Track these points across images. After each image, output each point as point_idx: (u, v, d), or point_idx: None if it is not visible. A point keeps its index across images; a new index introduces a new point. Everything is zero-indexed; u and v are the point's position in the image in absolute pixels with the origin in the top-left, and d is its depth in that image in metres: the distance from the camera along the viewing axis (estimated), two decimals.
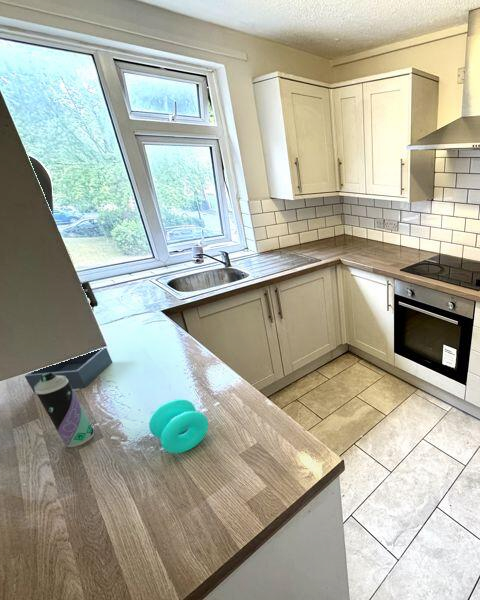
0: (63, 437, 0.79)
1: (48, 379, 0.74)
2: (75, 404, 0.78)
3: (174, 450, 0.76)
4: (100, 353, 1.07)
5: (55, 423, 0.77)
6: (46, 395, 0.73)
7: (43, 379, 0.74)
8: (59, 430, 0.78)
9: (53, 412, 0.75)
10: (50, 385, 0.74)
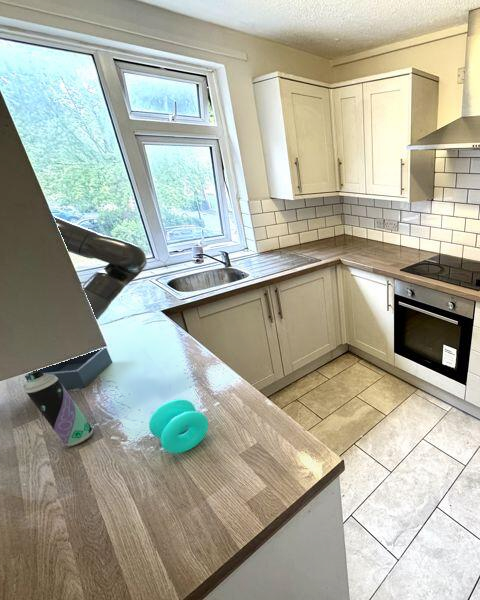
0: (60, 436, 0.78)
1: (36, 377, 0.74)
2: (68, 401, 0.78)
3: (174, 450, 0.76)
4: (100, 353, 1.07)
5: (50, 422, 0.77)
6: (35, 393, 0.73)
7: (31, 378, 0.74)
8: (55, 429, 0.78)
9: (46, 410, 0.75)
10: (38, 383, 0.74)
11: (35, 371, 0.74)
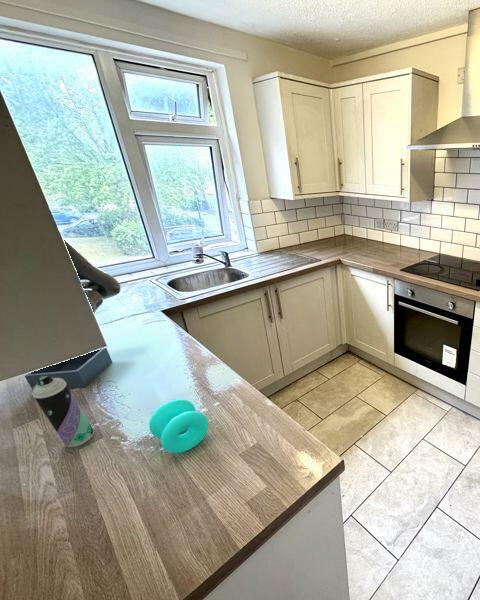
0: (63, 438, 0.78)
1: (46, 383, 0.73)
2: (74, 406, 0.78)
3: (174, 450, 0.76)
4: (100, 353, 1.07)
5: (54, 425, 0.76)
6: (44, 399, 0.72)
7: (40, 383, 0.72)
8: (58, 431, 0.77)
9: (52, 415, 0.75)
10: (48, 390, 0.72)
11: None
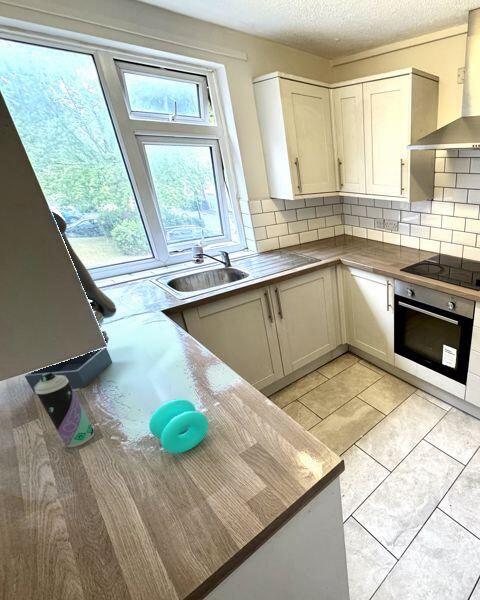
0: (63, 437, 0.79)
1: (48, 379, 0.74)
2: (75, 404, 0.78)
3: (174, 450, 0.76)
4: (100, 353, 1.07)
5: (55, 423, 0.77)
6: (46, 395, 0.74)
7: (43, 379, 0.74)
8: (59, 430, 0.78)
9: (53, 412, 0.75)
10: (50, 385, 0.74)
11: (90, 356, 0.87)
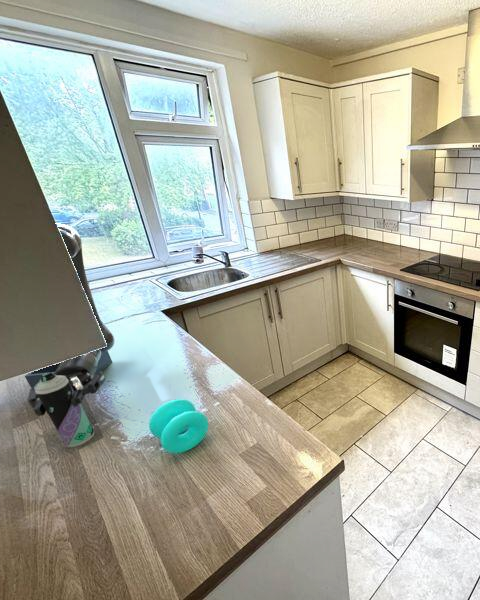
0: (63, 437, 0.79)
1: (49, 379, 0.74)
2: None
3: (174, 450, 0.76)
4: None
5: (55, 423, 0.77)
6: (46, 395, 0.74)
7: (43, 379, 0.74)
8: (59, 430, 0.78)
9: (53, 412, 0.75)
10: (50, 385, 0.74)
11: (78, 405, 0.78)
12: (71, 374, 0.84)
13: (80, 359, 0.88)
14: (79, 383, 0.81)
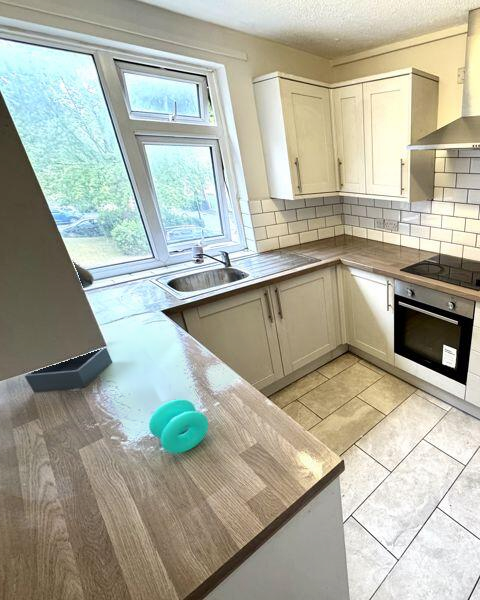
0: None
1: None
2: None
3: (174, 450, 0.76)
4: (100, 353, 1.07)
5: None
6: None
7: None
8: None
9: None
10: None
11: None
12: None
13: None
14: None
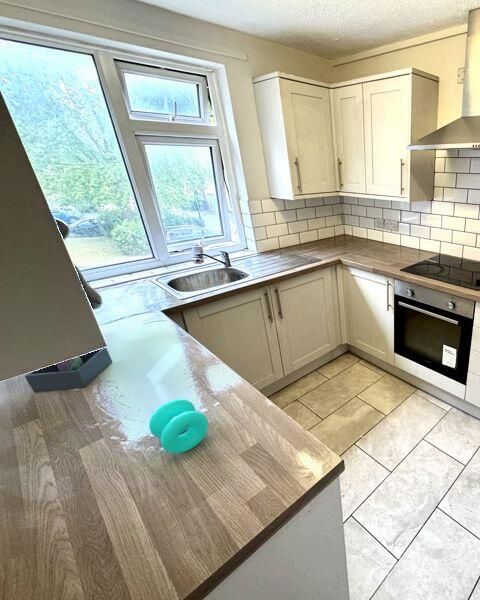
0: (61, 370, 1.01)
1: None
2: None
3: (174, 450, 0.76)
4: (100, 353, 1.07)
5: None
6: None
7: None
8: (58, 364, 1.00)
9: None
10: None
11: None
12: None
13: None
14: None
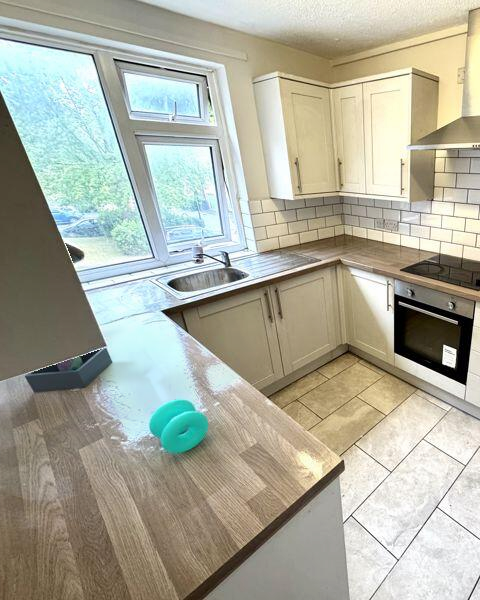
0: (61, 370, 1.01)
1: None
2: None
3: (174, 450, 0.76)
4: (100, 353, 1.07)
5: None
6: None
7: None
8: (58, 364, 1.00)
9: None
10: None
11: None
12: None
13: None
14: None
